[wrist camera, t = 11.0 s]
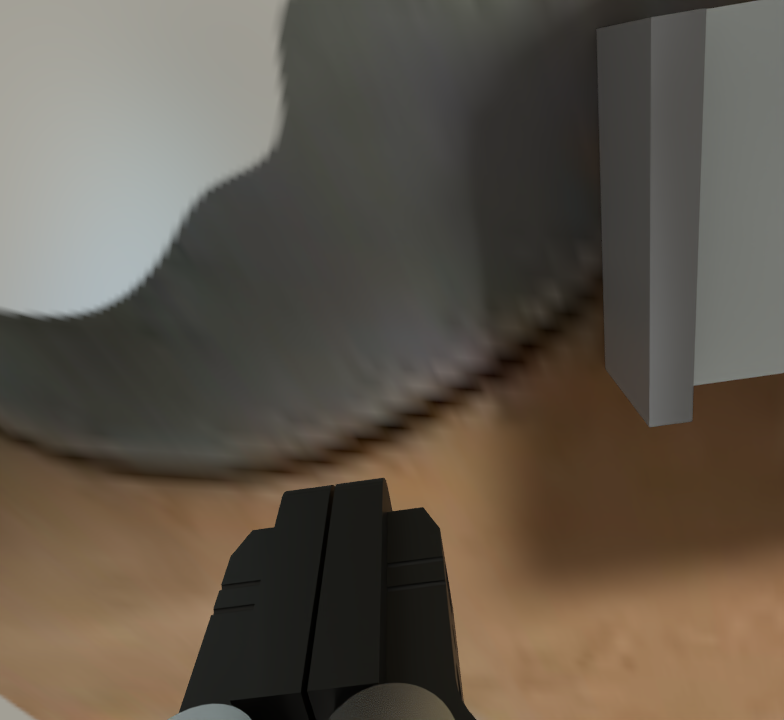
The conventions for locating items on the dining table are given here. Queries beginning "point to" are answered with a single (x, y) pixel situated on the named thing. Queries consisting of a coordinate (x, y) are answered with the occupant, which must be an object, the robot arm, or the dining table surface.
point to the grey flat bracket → (692, 202)
